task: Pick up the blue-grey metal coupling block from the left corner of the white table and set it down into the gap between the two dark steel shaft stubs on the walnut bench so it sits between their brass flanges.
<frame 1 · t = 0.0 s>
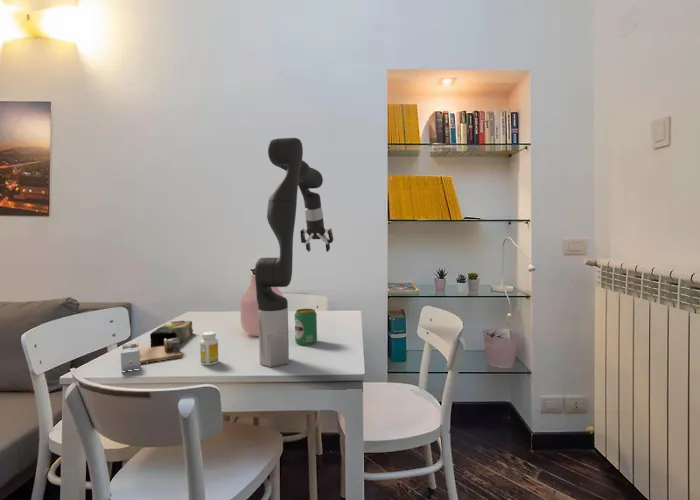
hand: (318, 250, 184), 31 cm above the table, tool tilted 20°, fingers open, 8 cm apart
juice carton: (173, 341, 157), on the table
supplement bottle: (209, 363, 130), on the table
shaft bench: (152, 356, 137), on the table
coupling block: (131, 369, 126), on the table
beverage can: (306, 343, 151), on the table
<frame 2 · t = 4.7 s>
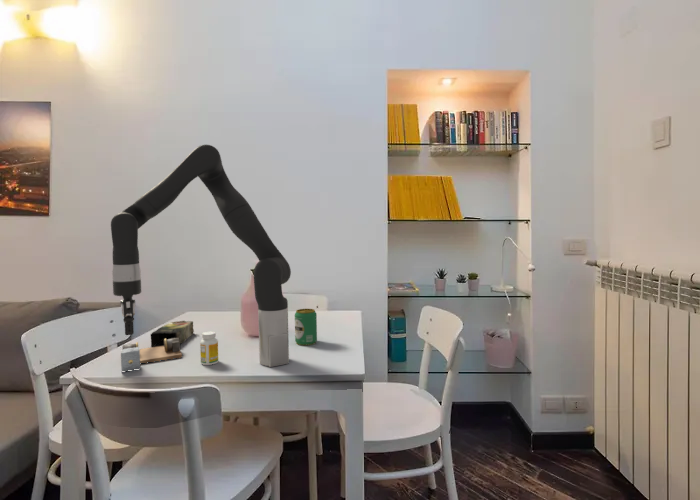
hand: (129, 331, 125), 12 cm above the table, tool pointing down, fingers open, 8 cm apart
nothing on the table moved.
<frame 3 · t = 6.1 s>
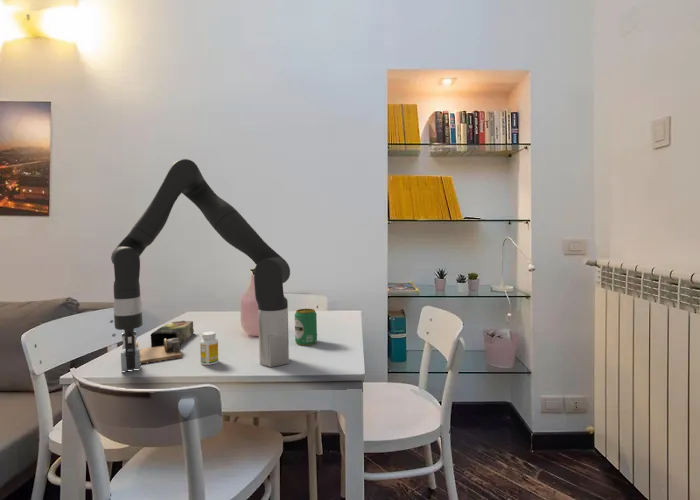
hand: (130, 364, 126), 1 cm above the table, tool pointing down, fingers open, 7 cm apart
nothing on the table moved.
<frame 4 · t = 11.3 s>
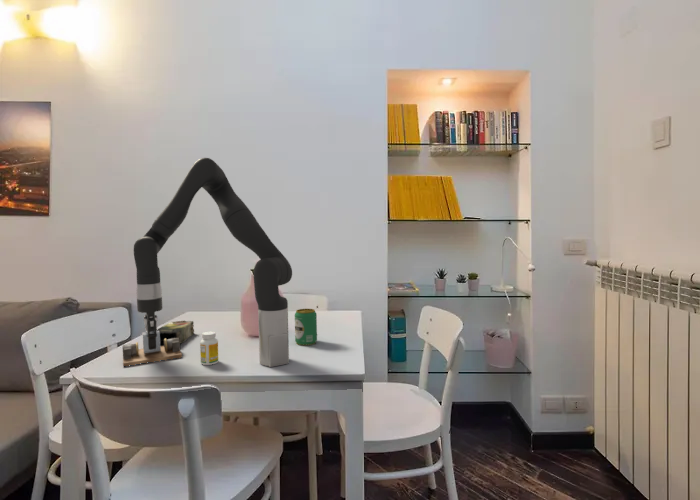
hand: (151, 346, 137), 3 cm above the table, tool pointing down, fingers closed on coupling block, 4 cm apart
coupling block: (151, 350, 137), point 2 cm above the table, touching gripper
everything else where it was.
when the fingers open (3 cm above the table, at t = 11.7 s): coupling block stays where it is, resting on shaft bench.
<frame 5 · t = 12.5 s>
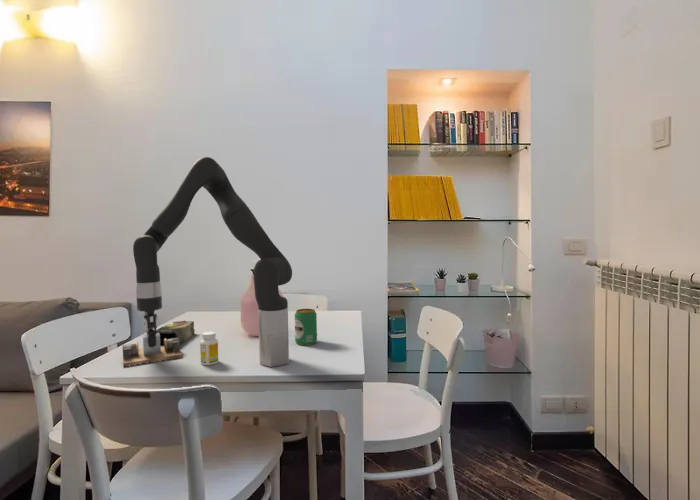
hand: (151, 343, 137), 5 cm above the table, tool pointing down, fingers open, 8 cm apart
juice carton: (174, 341, 157), on the table, touching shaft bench
coupling block: (152, 352, 137), point 1 cm above the table, touching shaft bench
everything else where it was.
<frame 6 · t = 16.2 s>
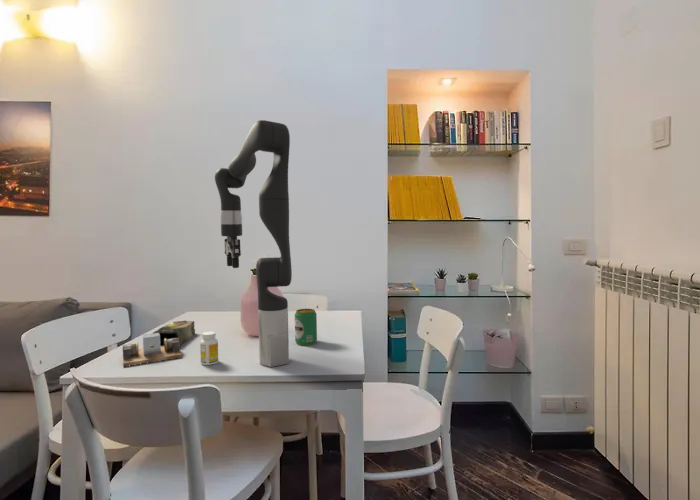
hand: (232, 266, 152), 28 cm above the table, tool pointing down, fingers open, 8 cm apart
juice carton: (175, 341, 157), on the table
everything else where it was.
at the end: coupling block 0.0 cm off-centre on the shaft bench, point 1.2 cm above the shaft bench's base; coupling block tilted 0°; the gripper is holding nothing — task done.
